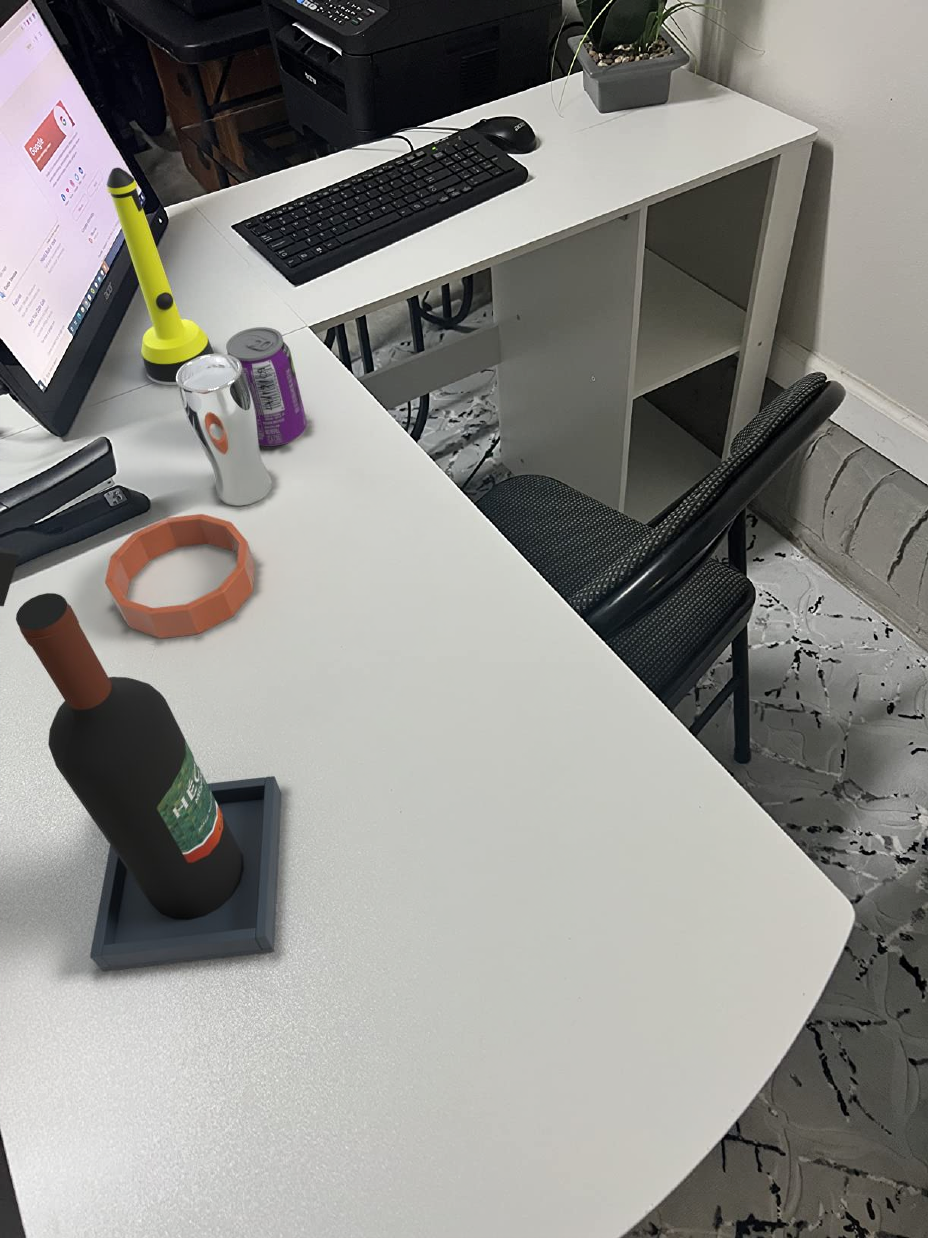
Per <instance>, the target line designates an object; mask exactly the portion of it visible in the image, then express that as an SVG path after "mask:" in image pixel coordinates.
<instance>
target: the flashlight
mask: <svg viewBox="0 0 928 1238" xmlns="http://www.w3.org/2000/svg"><path fill="white" fill-rule="evenodd" d="M137 187H138V183H137V182H136V180H135V178H134V177H133V176H132V175H131V174H130V173H129V172H127V171H126V170H124V169H123V168H121V167H114V168H112V169H111V171H110V172H109V175H108V178H107V181H106V188H107V192H108V193H109V194H110V196H111V198H112V202H113V205H114V209H115V212H116V215H117V217H118V221H119V223H120V228H121V230H122V233H123V237H124V239H125V243H126V245H127V248H128V253H129V255H130V258H131V261H132V264H133V268H134V271H135V274H136V276H137V281H138V283H139V287H140V289H141V293H142V295H143V299H144V302H145V304H146V308H147V311H148V315H149V317H150V320H151V324H152V326H151V327H150V328H149V329H147V330H146V331H145V333H143V336H142V344H141V349H140V353H141V356H142V360H143V361H142V362H143V364H144V368H145V372H146V375H147V377H148V378H149V379H150V381H152V382H153V383H156V384H159V385H166V386H178V383H177V381H176V375H177V373H178V371H179V369H180V368H181V367H182V366H183V365H184V364H186V363H187V362H189V361H191V360H193V359H195V358H197V357H200V356H204V355H209V354H215V352H214V350H213V348H212V345H211V342H210V340H209V338H208V335H207V333H205V332H204V330H202V328H201V327H200V326H199V325H198V324H197V323H196V322H194V321H192V320H191V319H190V320H189V319H185V318H184V319H183V318H181V316H180V312H179V310H178V307H177V304H176V301H175V298H174V295H173V291H172V289H171V286H170V283H169V280H168V277H167V275H166V272H165V269H164V266H163V263H162V260H161V257H160V254H159V251H158V249H157V245H156V243H155V240H154V237H153V234H152V231H151V228H150V226H149V223H148V219H147V217H146V214H145V210H144V208H143V205H142V202H141V199H140V195H139V193H138V190H137Z"/></svg>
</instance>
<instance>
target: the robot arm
mask: <svg viewBox="0 0 928 1238" xmlns="http://www.w3.org/2000/svg"><path fill="white" fill-rule="evenodd" d="M19 558H20V554H19V553H18V552H16V551H14V550H13V549H10V548H3V547H0V607H4V606H5V604H6V600H7V597H8V593H9V590H10V587H11V584H12V581H13V577H14V574H15V571H16V567H17V565H18V564H17V563H18V561H19Z"/></svg>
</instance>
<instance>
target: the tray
mask: <svg viewBox="0 0 928 1238" xmlns="http://www.w3.org/2000/svg"><path fill="white" fill-rule="evenodd" d="M207 784H208V786H209V788H210V790H211V792H212V795H213V797H214V799H215V801H216V803H217V805H218V807H219V809H220V811H221V813H222V815H223V817H224V819H225V821H226V823H227V825H228V827H229V829H230V831H231V833H232V835H233V837H234V839H235V841H236V843H237V845H238V847H239V849H240V851H241V853H242V855H243V867H244V869H243V873H242V877H241V881H240V884H239V885H238V887H237V889H236V890H235V892H234V893H233V895H232V897H231V898H230V899H228V900H227V901H226V902H225V903H224V904H223V905H222V906H221V907H220V908H218V909H217V910H215V911H213V912H211V913H209V914H208V915H206V916H203V917H199V918H195V919H191V920H182V919H172V918H170V917H168V916H165V915H163V914H161V913H160V912H159V911H158V910H157V909H156V908H155V907H154V906H153V905H152V904H151V903H150V902H149V900H148V899H147V897H146V896H145V894H144V893H143V891H142V890H141V889H140V887H139V886H138V884H137V883H136V881H135V880H134V878H133V877H132V876H131V874H130V873H129V871H128V870H127V868H126V867H125V865H124V864H123V862H122V861H121V860H120V858H119V857H118V855H117V854H116V852H115V851H114V849H113V848H112V847H111V845H110V844H109V850H108V855H107V860H106V866H105V871H104V876H103V882H102V888H101V892H100V893H101V894H100V899H99V905H98V911H97V916H96V922H95V926H94V932H93V938H92V944H91V949H90V955H89V957H90V959H91V960H92V961H93V962H94V963H95V965H96V966H97V967H98V968H99V970H101V971H102V972H108V971H109V972H110V971H117V970H126V969H135V968H145V967H152V966H161V965H169V964H180V963H189V962H196V961H204V960H213V959H222V958H229V957H238V956H247V955H257V954H265V953H273V952H274V951H275V938H276V937H275V936H276V916H277V896H278V877H279V876H278V875H279V855H280V854H279V853H280V835H281V834H280V831H281V813H282V812H281V811H282V810H281V809H282V808H281V807H282V791H281V789H280V787H279V784H278V781H277V778H276V776H274V775H271V776H266V777H265V776H263V777H254V778H245V779H244V778H243V779H237V780H226V781H219V782H212V783H211V782H209V783H207Z"/></svg>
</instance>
